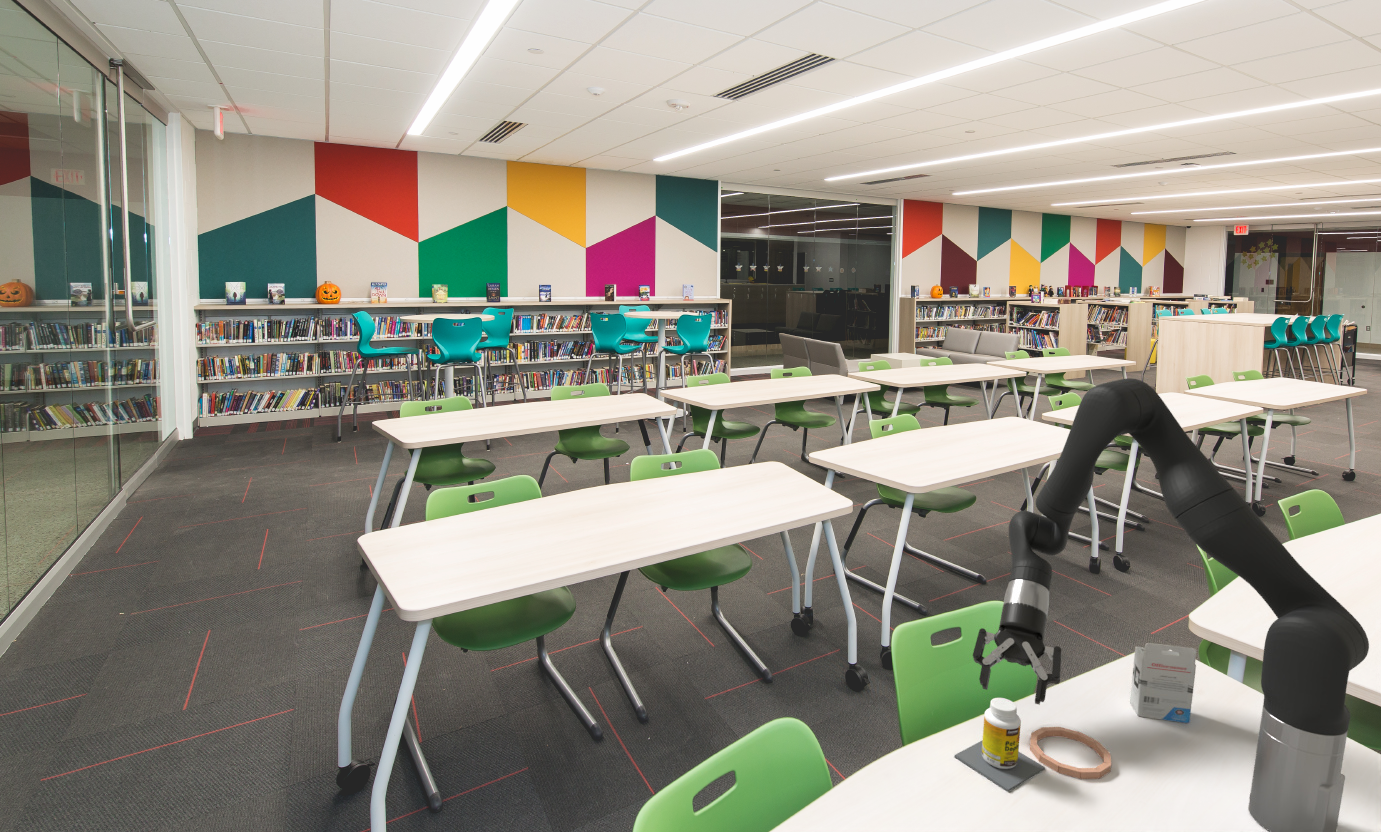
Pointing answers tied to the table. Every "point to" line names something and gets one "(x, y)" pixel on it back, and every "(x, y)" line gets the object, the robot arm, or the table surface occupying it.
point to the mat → (999, 776)
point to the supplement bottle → (1001, 734)
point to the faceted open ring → (1066, 769)
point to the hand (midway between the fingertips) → (1010, 695)
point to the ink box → (1163, 682)
